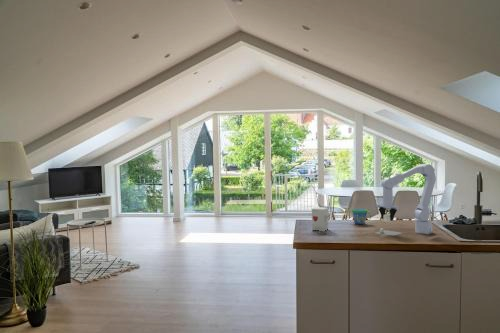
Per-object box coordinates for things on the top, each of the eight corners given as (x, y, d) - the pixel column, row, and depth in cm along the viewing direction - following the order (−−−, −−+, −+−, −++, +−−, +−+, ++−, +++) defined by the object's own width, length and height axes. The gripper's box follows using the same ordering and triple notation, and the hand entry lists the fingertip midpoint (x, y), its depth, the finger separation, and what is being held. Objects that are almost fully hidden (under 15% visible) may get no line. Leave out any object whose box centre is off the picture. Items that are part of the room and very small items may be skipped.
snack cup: (372, 223, 309) (372, 209, 309) (368, 225, 300) (368, 211, 300) (351, 221, 317) (351, 208, 317) (346, 224, 308) (346, 210, 308)
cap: (393, 221, 265) (393, 214, 265) (389, 222, 262) (389, 215, 262) (386, 220, 269) (386, 213, 269) (381, 221, 266) (381, 214, 266)
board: (403, 235, 265) (403, 228, 265) (393, 238, 257) (393, 231, 257) (384, 232, 275) (384, 225, 275) (374, 235, 266) (373, 228, 266)
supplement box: (311, 230, 286) (311, 208, 285) (315, 228, 294) (315, 206, 293) (324, 231, 281) (324, 209, 281) (328, 229, 289) (328, 207, 289)
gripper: (373, 198, 268) (373, 219, 268) (395, 199, 257) (395, 222, 258) (379, 197, 272) (379, 218, 273) (401, 198, 262) (401, 220, 262)
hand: (387, 220), depth 266 cm, fingers closed on cap, 5 cm apart
